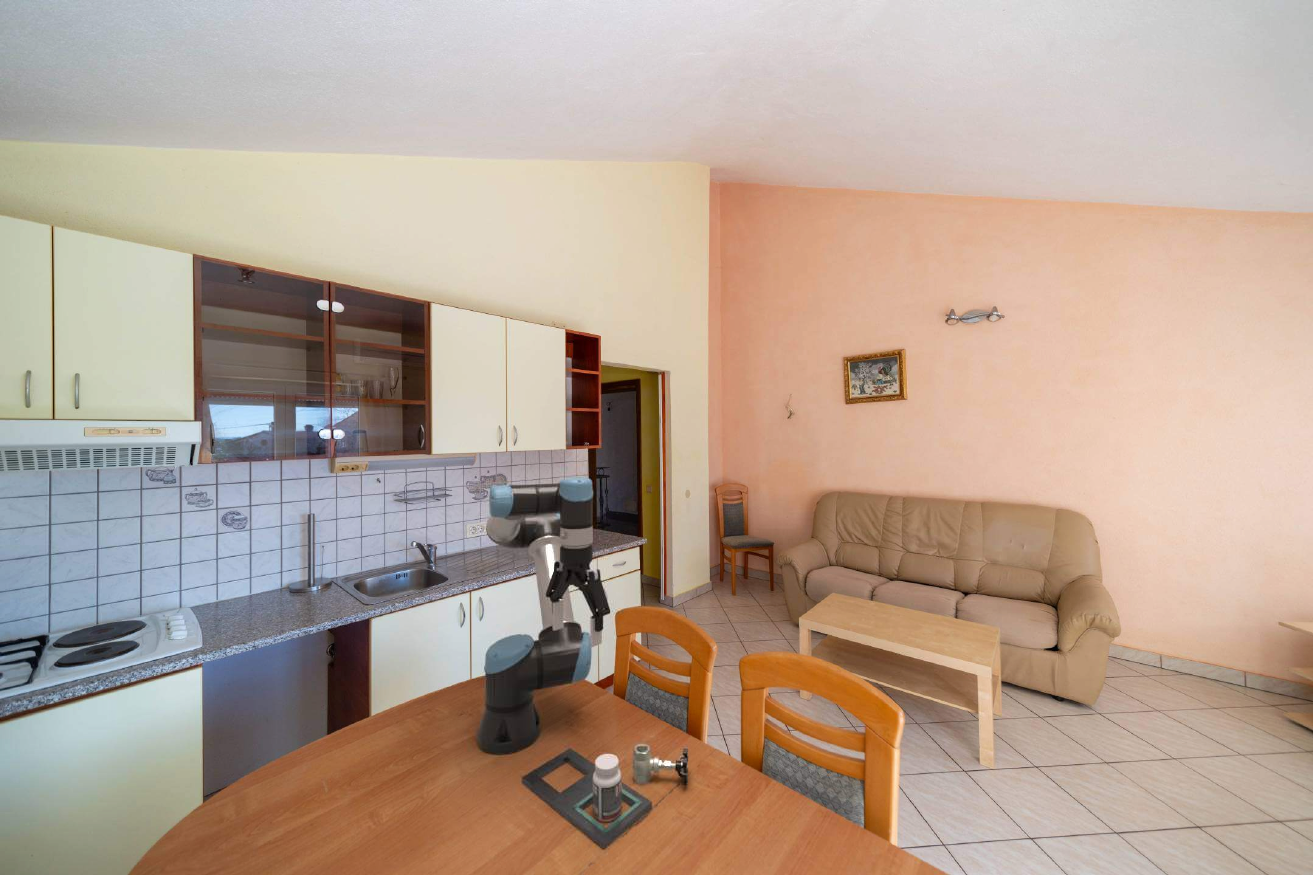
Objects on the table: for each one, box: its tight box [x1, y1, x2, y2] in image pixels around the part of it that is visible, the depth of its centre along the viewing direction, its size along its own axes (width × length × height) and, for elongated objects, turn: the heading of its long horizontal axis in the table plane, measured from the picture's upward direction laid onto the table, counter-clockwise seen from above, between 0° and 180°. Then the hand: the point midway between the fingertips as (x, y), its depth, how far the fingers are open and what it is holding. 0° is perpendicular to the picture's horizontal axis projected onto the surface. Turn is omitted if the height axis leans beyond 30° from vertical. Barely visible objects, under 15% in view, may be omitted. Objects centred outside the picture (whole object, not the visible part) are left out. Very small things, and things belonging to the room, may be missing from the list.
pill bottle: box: [592, 753, 623, 823], centre depth 95 cm, size 6×6×10 cm
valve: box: [632, 743, 689, 786], centre depth 104 cm, size 7×7×12 cm
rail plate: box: [521, 747, 653, 850], centre depth 99 cm, size 26×13×1 cm, turn 49°
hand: (576, 636), depth 111 cm, fingers open, 13 cm apart
